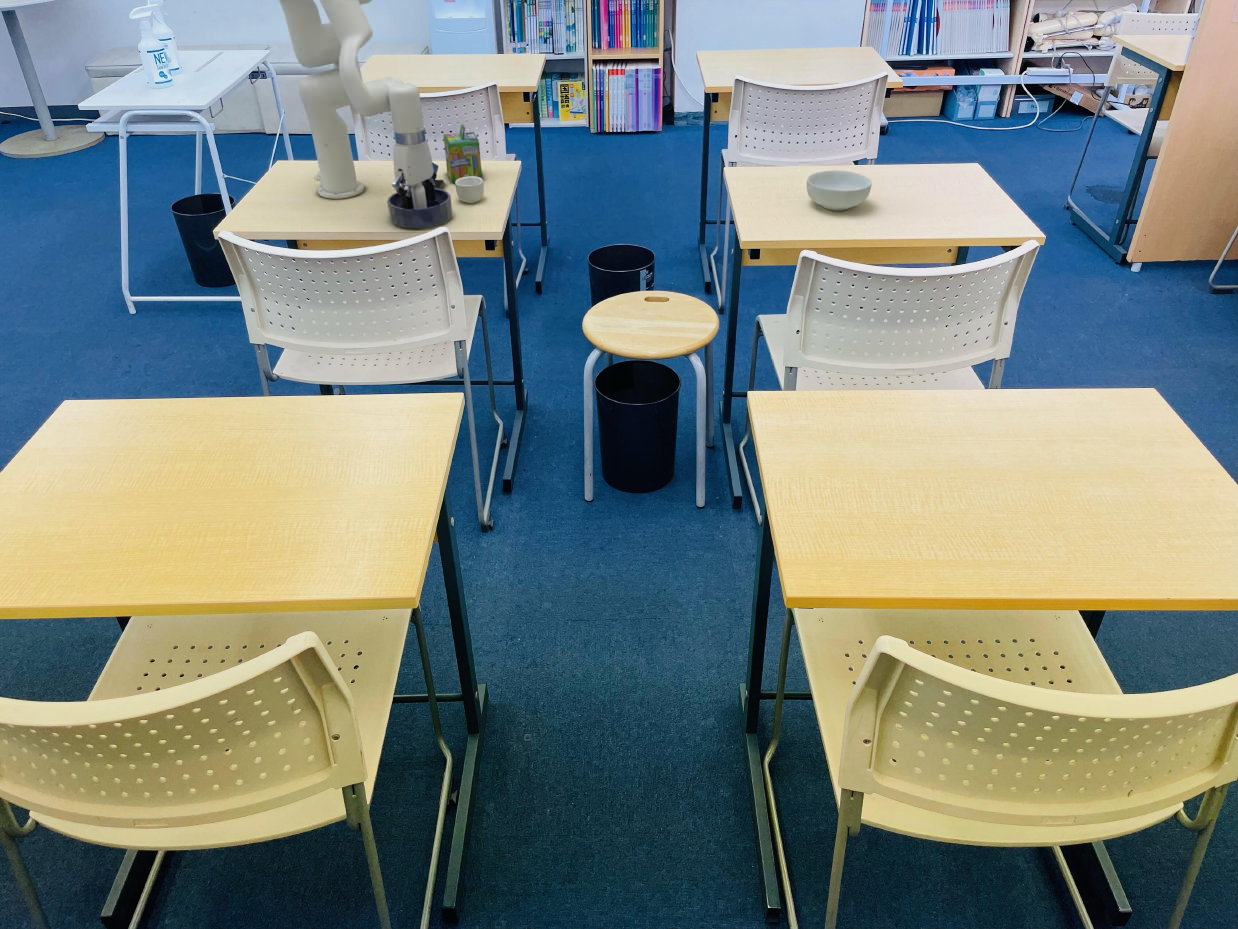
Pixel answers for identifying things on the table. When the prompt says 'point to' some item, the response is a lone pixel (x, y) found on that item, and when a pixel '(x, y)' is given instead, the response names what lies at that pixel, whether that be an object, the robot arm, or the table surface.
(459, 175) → the chalk box
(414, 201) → the eye dropper bottle
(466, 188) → the teacup
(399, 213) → the bowl
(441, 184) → the phone
